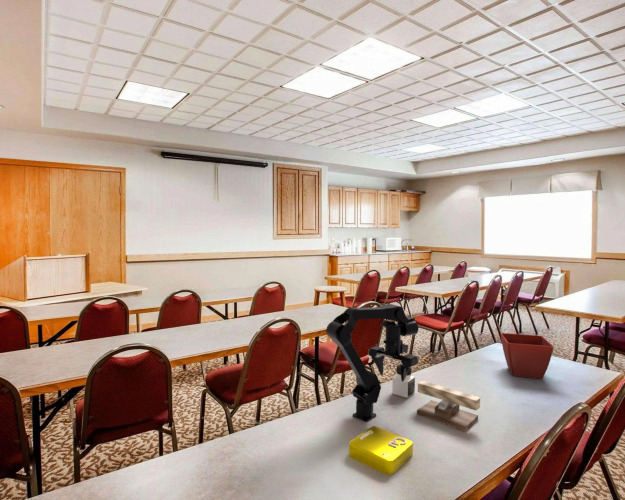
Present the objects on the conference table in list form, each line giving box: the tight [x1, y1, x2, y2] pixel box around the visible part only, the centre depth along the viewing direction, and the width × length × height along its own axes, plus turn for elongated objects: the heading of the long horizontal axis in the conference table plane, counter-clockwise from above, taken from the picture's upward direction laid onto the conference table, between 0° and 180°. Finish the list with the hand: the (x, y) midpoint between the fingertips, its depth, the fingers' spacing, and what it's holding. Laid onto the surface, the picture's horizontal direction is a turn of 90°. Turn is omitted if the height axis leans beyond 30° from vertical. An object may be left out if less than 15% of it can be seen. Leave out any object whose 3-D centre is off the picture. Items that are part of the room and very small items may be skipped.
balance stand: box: [416, 399, 479, 432], centre depth 140 cm, size 12×18×6 cm, turn 47°
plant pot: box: [500, 332, 554, 380], centre depth 186 cm, size 19×19×17 cm
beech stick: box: [417, 380, 481, 411], centre depth 140 cm, size 22×4×4 cm, turn 47°
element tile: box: [348, 425, 414, 476], centre depth 116 cm, size 15×15×5 cm
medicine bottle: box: [391, 363, 416, 399], centre depth 160 cm, size 7×7×12 cm
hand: (392, 378), depth 146 cm, fingers open, 9 cm apart
